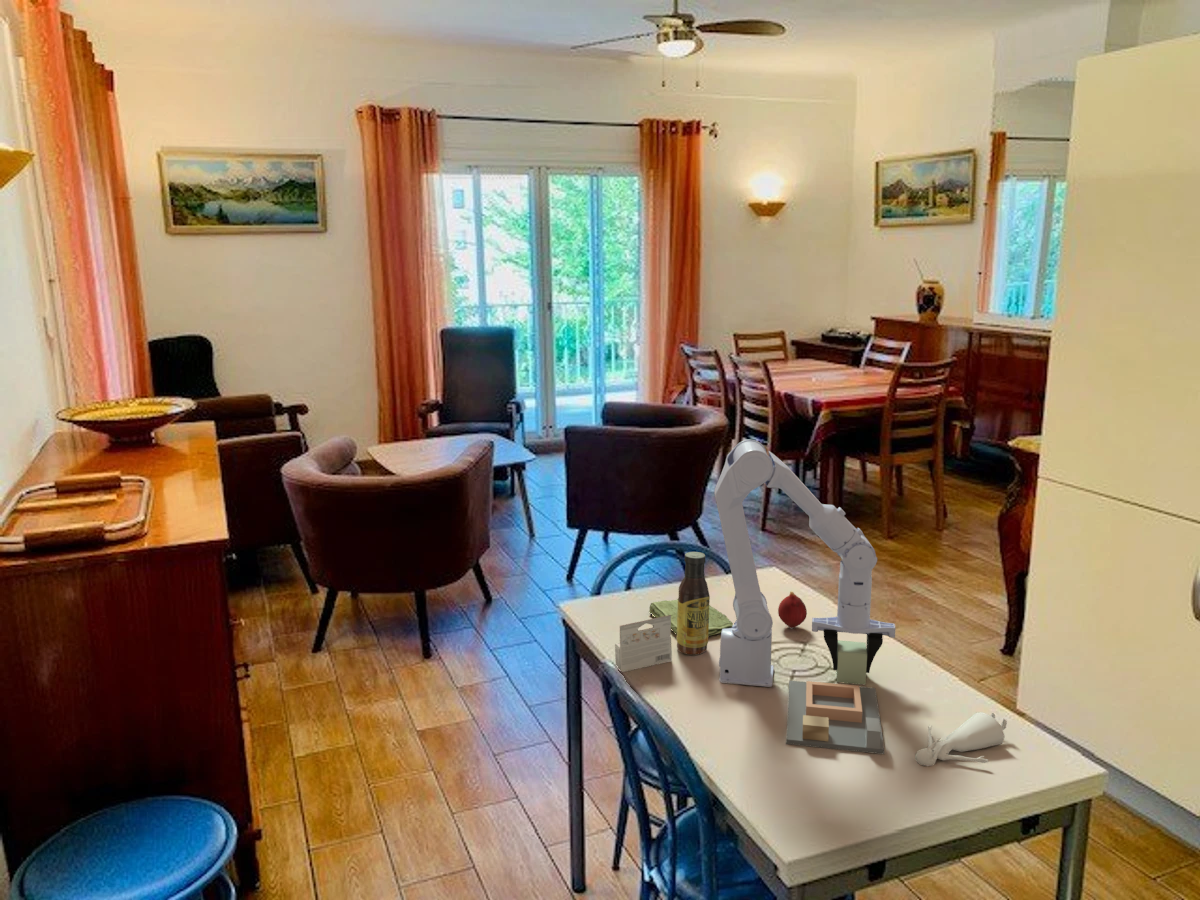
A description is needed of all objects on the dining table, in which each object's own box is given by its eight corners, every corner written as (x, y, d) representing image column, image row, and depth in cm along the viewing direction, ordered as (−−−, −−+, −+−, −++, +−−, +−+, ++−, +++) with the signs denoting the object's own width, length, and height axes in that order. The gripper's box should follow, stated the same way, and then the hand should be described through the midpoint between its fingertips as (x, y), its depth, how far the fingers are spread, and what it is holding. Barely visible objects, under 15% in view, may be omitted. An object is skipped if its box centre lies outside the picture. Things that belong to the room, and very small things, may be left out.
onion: (810, 625, 184) (811, 590, 182) (800, 635, 179) (801, 599, 177) (783, 620, 187) (784, 584, 185) (773, 629, 182) (774, 593, 180)
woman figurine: (1031, 726, 135) (948, 766, 128) (1030, 751, 137) (948, 792, 129) (970, 694, 146) (889, 729, 138) (969, 718, 147) (889, 754, 139)
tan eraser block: (802, 738, 140) (802, 724, 139) (802, 728, 143) (803, 715, 142) (828, 741, 139) (828, 727, 138) (827, 731, 142) (828, 717, 141)
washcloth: (682, 646, 176) (682, 631, 176) (645, 614, 192) (645, 600, 192) (738, 634, 181) (739, 620, 180) (697, 604, 197) (697, 590, 196)
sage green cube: (837, 682, 159) (838, 652, 158) (836, 669, 164) (837, 640, 163) (865, 684, 158) (867, 654, 157) (863, 672, 163) (865, 642, 162)
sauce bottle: (687, 659, 170) (687, 562, 165) (670, 647, 175) (670, 553, 171) (715, 651, 172) (716, 556, 168) (697, 640, 178) (698, 547, 174)
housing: (786, 743, 140) (786, 722, 139) (789, 684, 159) (789, 665, 158) (884, 754, 137) (885, 732, 136) (875, 692, 156) (876, 672, 155)
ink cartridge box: (614, 668, 167) (613, 620, 165) (666, 656, 171) (666, 610, 169) (620, 673, 165) (619, 625, 163) (672, 662, 169) (672, 614, 167)
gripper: (894, 594, 160) (890, 662, 163) (812, 589, 163) (810, 656, 166) (897, 609, 153) (893, 680, 156) (813, 603, 157) (810, 673, 160)
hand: (851, 669), depth 161 cm, fingers closed on sage green cube, 5 cm apart
